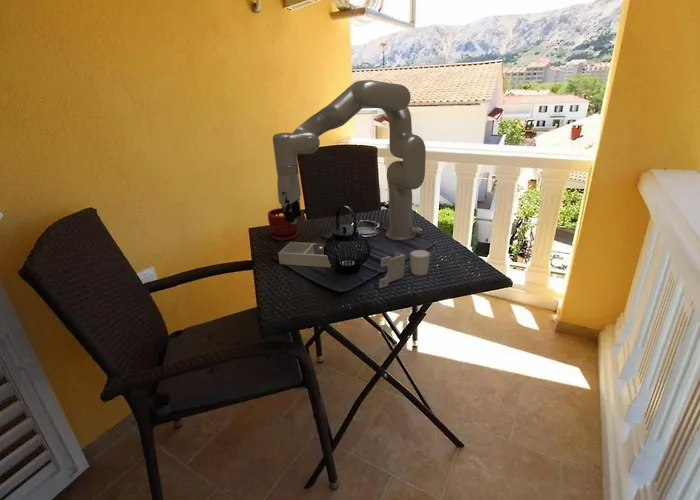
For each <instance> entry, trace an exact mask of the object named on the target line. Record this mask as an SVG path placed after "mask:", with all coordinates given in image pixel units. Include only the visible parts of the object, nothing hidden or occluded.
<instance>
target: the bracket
mask: <svg viewBox="0 0 700 500" xmlns="http://www.w3.org/2000/svg"><path fill="white" fill-rule="evenodd" d="M405 263H406V255H405V254H403V253H400V252H398V251H394V257H392V256H390V255H388V256H384V257H381V259H380V267H382V268H384V267H386V268H387V273H386V275H385V276H384V277H383V278H380V279H379V280H378V281H379V282H378V289H383V288H384V287H387V286H389V283H391V282H394V281H395V282H396V281H397V280H400V279H402V278H404V275H405Z"/></svg>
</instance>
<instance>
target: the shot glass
mask: <svg viewBox="0 0 700 500" xmlns="http://www.w3.org/2000/svg"><path fill="white" fill-rule="evenodd" d="M430 259H431V253H430V251H428V250H425V249H414V250H412V251H410V252H409V260H410V270H411V271H410V272H411V274H413V275H415V276H425V275H428V273H429V266H430Z"/></svg>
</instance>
